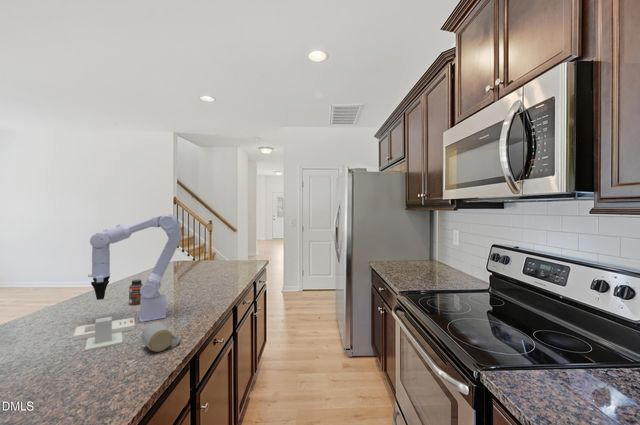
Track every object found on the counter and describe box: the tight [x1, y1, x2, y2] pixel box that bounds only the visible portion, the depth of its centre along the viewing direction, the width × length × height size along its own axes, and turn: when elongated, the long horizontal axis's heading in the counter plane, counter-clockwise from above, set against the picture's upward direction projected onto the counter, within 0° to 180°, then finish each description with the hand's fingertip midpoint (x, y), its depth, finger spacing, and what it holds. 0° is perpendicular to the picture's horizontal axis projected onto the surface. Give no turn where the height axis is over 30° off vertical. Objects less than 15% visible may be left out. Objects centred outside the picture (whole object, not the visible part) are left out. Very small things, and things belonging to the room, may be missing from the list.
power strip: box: [72, 317, 136, 341], centre depth 112 cm, size 18×10×2 cm, turn 124°
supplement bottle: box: [128, 278, 144, 306], centre depth 145 cm, size 6×6×11 cm
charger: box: [94, 316, 113, 344], centre depth 102 cm, size 4×4×7 cm
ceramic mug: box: [141, 321, 181, 353], centre depth 99 cm, size 11×8×8 cm
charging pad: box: [84, 332, 123, 352], centre depth 102 cm, size 10×10×1 cm
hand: (100, 297), depth 119 cm, fingers open, 7 cm apart
